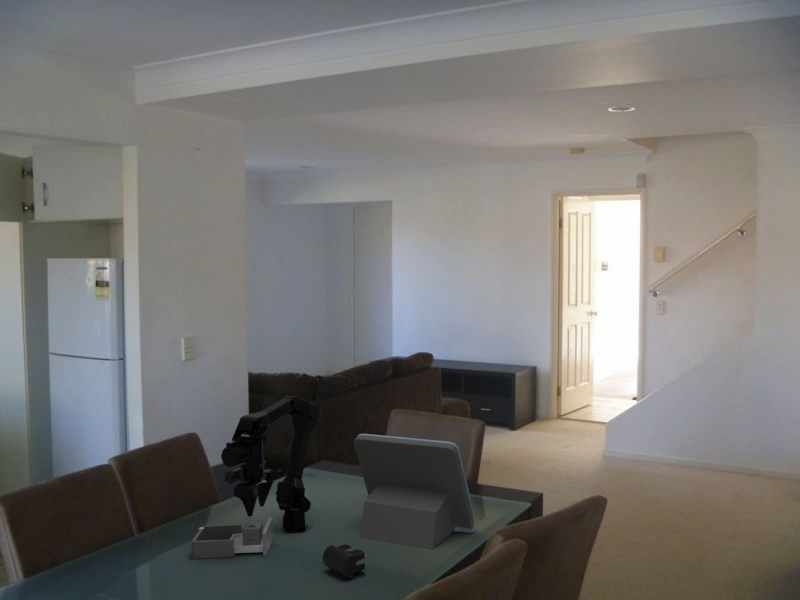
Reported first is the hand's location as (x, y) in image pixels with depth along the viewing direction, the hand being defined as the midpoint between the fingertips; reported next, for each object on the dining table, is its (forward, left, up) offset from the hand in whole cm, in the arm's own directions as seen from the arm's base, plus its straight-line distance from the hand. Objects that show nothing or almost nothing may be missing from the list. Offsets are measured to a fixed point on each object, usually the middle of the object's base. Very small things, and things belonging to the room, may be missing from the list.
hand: (256, 511), depth 234 cm
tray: (+2, 0, -11) cm, 11 cm away
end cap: (-26, +22, -11) cm, 36 cm away
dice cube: (+1, 0, -10) cm, 10 cm away
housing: (+12, 0, -11) cm, 16 cm away
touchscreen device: (-45, -7, -11) cm, 47 cm away
